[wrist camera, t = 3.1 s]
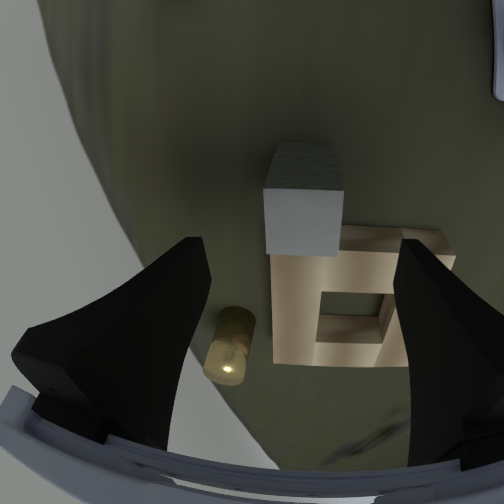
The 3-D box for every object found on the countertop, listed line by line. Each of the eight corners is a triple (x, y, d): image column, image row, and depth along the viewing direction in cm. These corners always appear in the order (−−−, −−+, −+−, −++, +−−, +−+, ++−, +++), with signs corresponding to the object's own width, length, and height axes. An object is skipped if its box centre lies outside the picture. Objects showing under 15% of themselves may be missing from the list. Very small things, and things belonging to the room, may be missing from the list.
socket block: (441, 230, 19) (455, 255, 17) (403, 340, 26) (408, 366, 24) (275, 222, 21) (269, 247, 19) (277, 336, 28) (273, 363, 26)
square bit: (332, 142, 17) (344, 191, 12) (330, 191, 19) (337, 256, 14) (278, 141, 18) (263, 188, 12) (280, 189, 20) (266, 254, 14)
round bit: (254, 307, 26) (241, 366, 22) (256, 332, 28) (245, 387, 23) (218, 305, 27) (199, 360, 22) (222, 329, 29) (206, 382, 24)
